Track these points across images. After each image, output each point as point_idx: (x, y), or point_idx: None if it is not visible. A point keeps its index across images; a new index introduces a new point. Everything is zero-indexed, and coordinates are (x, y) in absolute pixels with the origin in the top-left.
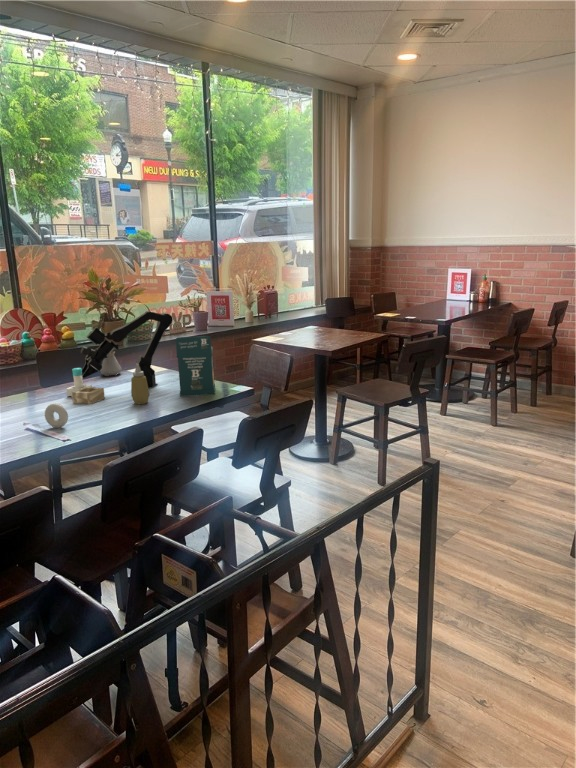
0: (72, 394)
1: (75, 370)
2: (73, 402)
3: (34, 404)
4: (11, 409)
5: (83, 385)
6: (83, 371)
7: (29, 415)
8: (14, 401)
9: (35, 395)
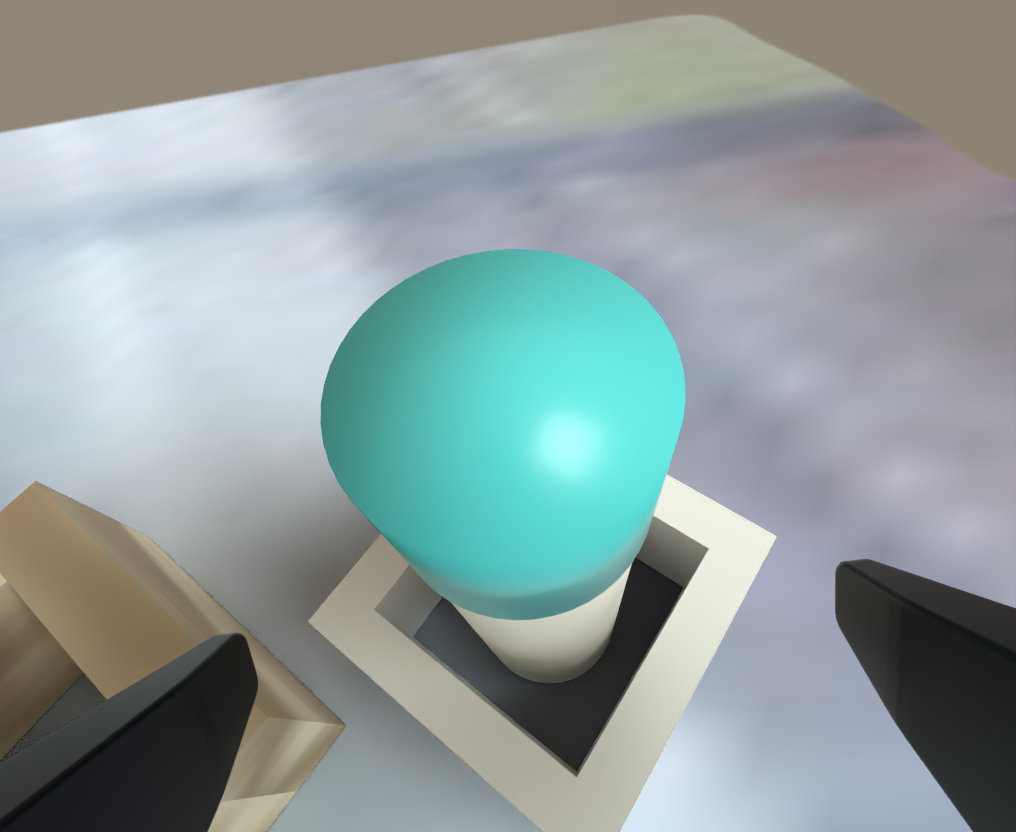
0: (61, 498)
1: (344, 364)
2: (144, 538)
3: (353, 200)
4: (299, 99)
5: (643, 663)
6: (901, 657)
7: (13, 223)
8: (553, 69)
9: (724, 155)
